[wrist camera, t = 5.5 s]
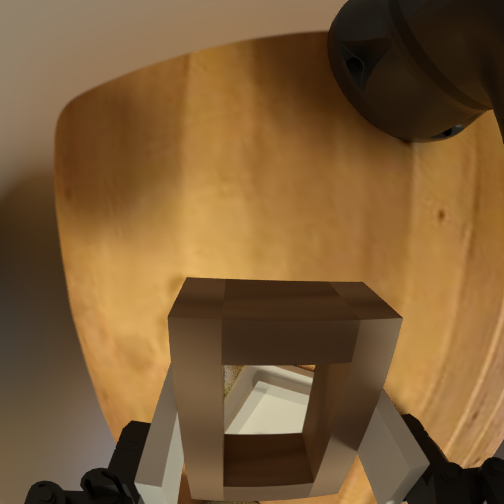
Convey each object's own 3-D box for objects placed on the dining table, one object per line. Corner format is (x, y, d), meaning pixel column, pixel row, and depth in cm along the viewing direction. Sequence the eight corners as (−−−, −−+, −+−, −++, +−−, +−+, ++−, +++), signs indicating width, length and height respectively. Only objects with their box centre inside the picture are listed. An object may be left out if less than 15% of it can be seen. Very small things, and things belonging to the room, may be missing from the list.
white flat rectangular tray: (251, 351, 27) (252, 368, 24) (362, 386, 29) (371, 401, 26) (194, 448, 30) (192, 464, 27) (290, 470, 32) (293, 485, 29)
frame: (186, 277, 11) (167, 316, 8) (362, 281, 12) (403, 317, 8) (196, 448, 14) (191, 498, 10) (323, 446, 14) (337, 493, 11)
